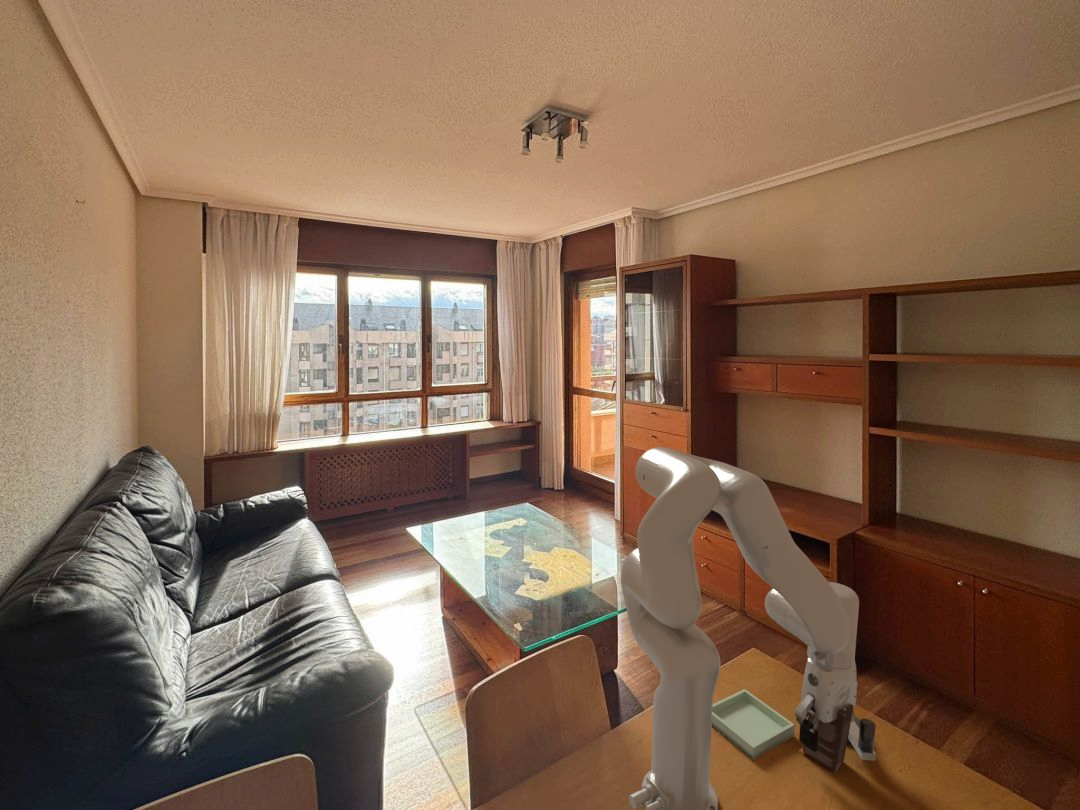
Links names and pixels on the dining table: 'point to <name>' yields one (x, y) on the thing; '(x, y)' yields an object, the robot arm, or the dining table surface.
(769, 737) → the tray
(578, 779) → the dining table surface
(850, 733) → the crank
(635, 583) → the robot arm
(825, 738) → the box
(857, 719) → the crank base
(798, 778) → the dining table surface
